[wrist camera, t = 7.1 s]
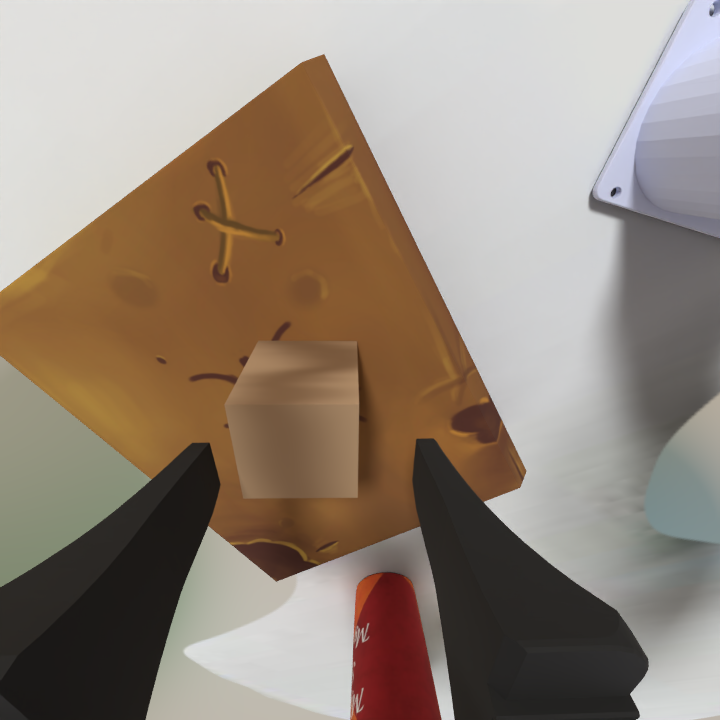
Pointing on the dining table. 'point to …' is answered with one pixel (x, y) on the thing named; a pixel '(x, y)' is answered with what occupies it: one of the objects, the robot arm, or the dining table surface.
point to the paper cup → (390, 653)
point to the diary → (261, 320)
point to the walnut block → (297, 420)
